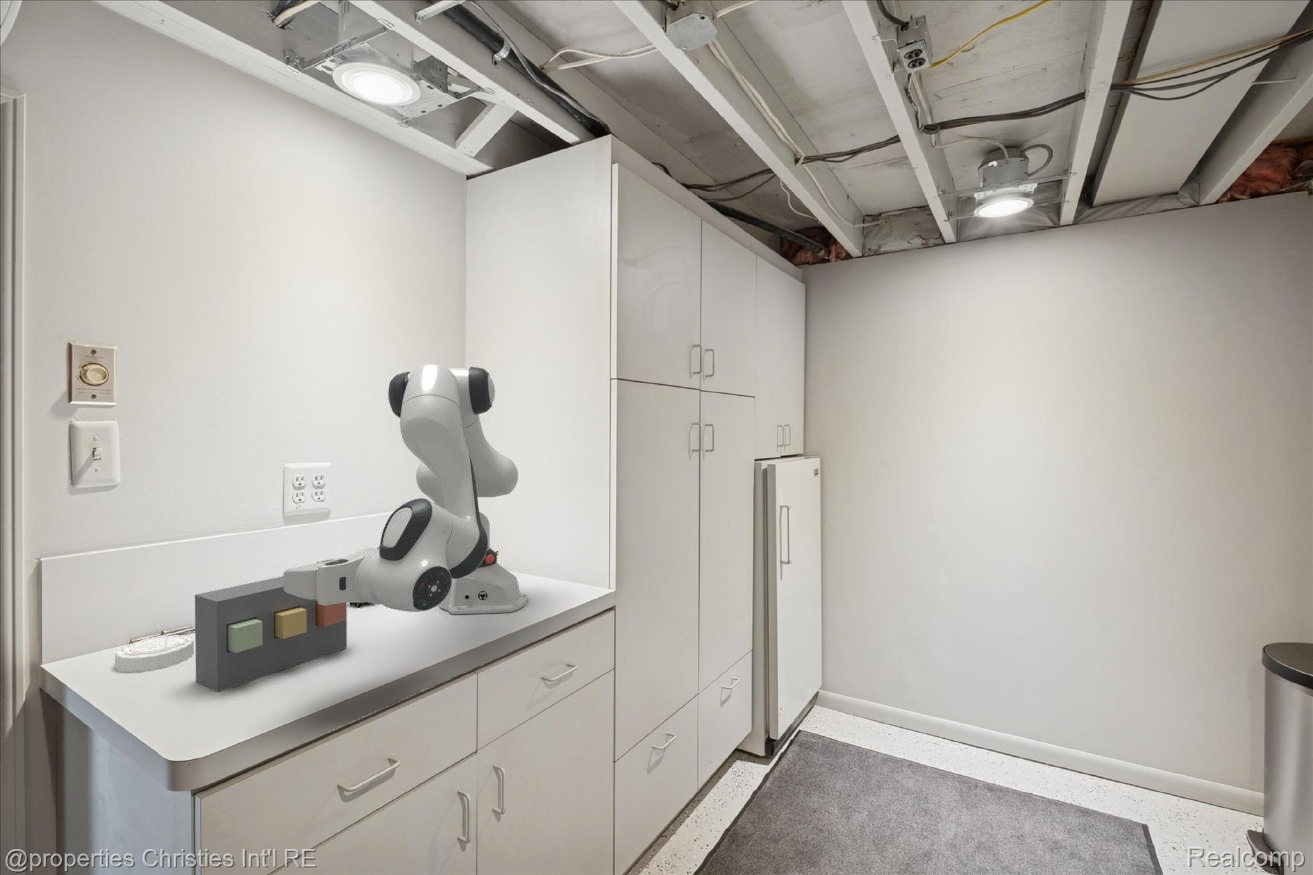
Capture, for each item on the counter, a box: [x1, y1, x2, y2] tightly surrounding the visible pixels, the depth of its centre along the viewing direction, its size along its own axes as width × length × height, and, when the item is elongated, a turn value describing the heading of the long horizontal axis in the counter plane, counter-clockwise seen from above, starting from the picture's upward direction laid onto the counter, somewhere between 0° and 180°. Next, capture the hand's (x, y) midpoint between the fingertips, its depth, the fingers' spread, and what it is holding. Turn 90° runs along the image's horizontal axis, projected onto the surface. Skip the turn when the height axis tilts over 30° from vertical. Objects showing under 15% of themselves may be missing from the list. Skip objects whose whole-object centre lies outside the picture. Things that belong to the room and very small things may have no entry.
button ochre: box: [274, 607, 307, 639], centre depth 115 cm, size 3×4×4 cm
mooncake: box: [114, 634, 195, 674], centre depth 119 cm, size 12×12×4 cm
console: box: [194, 575, 348, 693], centre depth 118 cm, size 8×24×16 cm, turn 150°
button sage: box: [227, 618, 263, 653], centre depth 108 cm, size 3×4×4 cm
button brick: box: [316, 602, 346, 627], centre depth 122 cm, size 3×4×4 cm
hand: (323, 564), depth 109 cm, fingers closed
